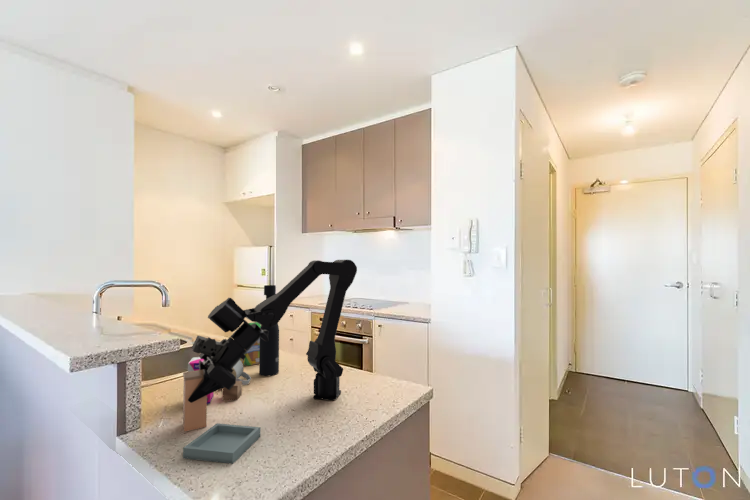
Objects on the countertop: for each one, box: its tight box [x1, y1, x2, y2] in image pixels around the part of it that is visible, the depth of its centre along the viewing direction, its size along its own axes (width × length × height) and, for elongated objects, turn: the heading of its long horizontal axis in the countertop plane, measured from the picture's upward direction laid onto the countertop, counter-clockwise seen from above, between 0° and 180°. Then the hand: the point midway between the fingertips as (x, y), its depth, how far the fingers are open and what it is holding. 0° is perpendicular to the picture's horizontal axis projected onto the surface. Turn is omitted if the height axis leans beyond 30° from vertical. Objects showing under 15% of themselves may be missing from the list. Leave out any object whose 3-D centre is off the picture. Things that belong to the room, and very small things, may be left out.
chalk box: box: [240, 322, 261, 367], centre depth 136 cm, size 9×9×15 cm
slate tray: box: [182, 422, 262, 465], centre depth 73 cm, size 11×11×2 cm
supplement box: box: [187, 356, 214, 405], centre depth 97 cm, size 6×6×12 cm
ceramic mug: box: [232, 360, 252, 386], centre depth 111 cm, size 11×8×8 cm
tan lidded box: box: [182, 370, 208, 432], centre depth 83 cm, size 5×5×12 cm
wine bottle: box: [258, 284, 280, 377], centre depth 122 cm, size 6×6×30 cm
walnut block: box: [222, 381, 243, 401], centre depth 100 cm, size 4×4×4 cm
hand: (188, 397), depth 82 cm, fingers closed on tan lidded box, 4 cm apart
